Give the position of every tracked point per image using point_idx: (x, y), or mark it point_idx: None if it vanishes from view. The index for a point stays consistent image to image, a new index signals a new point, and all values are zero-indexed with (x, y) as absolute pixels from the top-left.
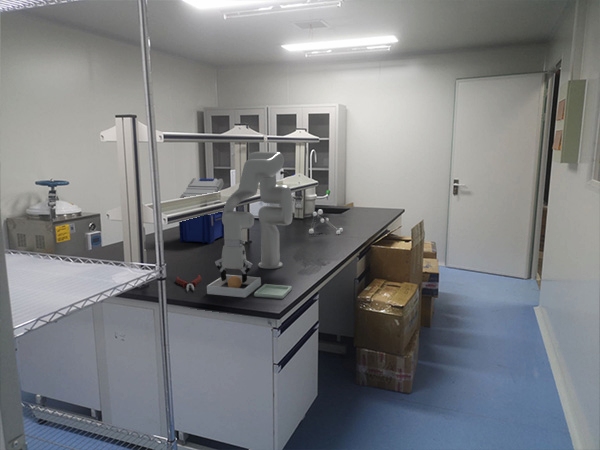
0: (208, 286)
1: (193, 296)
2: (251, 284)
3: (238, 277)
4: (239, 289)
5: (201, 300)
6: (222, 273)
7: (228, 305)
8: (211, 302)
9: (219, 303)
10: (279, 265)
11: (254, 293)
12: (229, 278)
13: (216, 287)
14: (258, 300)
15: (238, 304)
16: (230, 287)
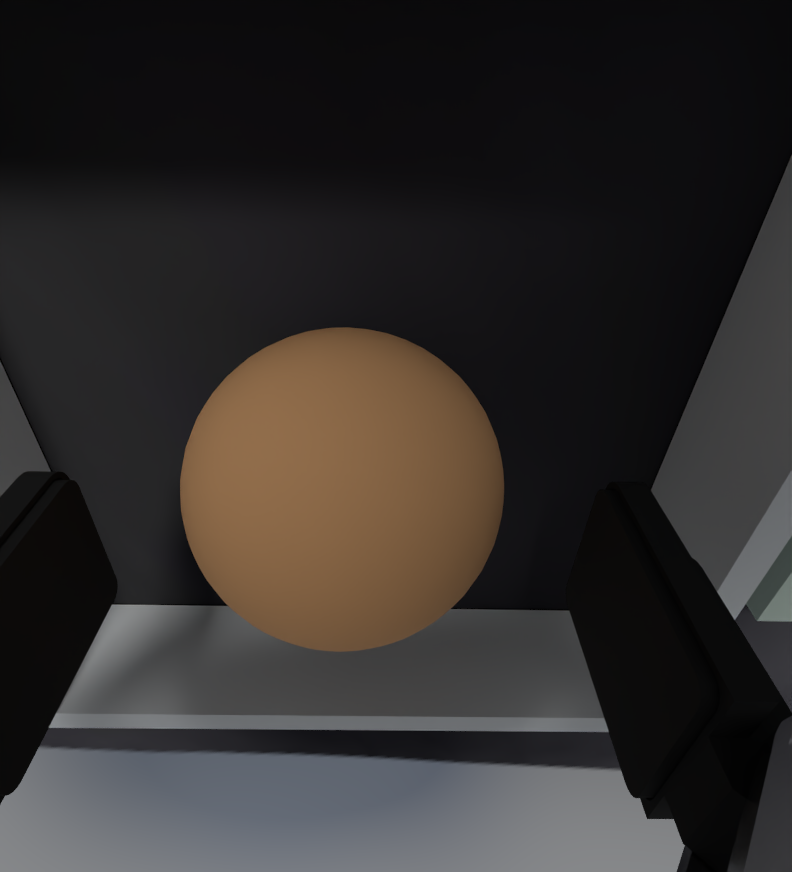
0: (69, 721)
1: None
2: (762, 574)
3: (448, 571)
4: (568, 722)
5: (191, 732)
6: (11, 777)
7: (492, 758)
8: (312, 744)
9: (395, 747)
10: None
11: (757, 613)
12: (231, 608)
13: (203, 718)
14: (780, 654)
15: (576, 737)
16: (417, 716)
